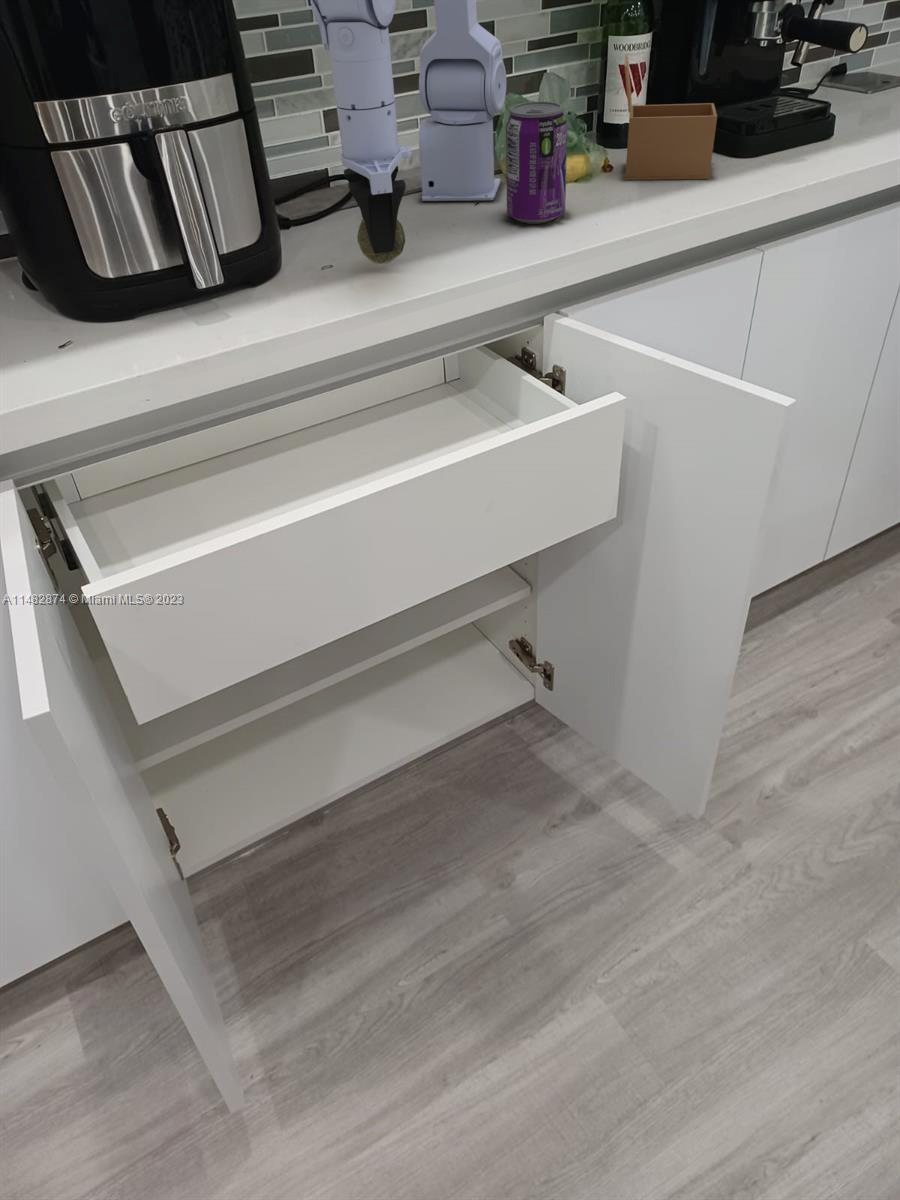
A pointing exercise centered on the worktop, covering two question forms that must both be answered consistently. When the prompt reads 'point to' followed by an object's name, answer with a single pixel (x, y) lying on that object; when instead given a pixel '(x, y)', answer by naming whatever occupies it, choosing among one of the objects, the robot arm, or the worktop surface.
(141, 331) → the worktop surface
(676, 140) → the carton
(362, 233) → the lime
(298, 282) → the worktop surface
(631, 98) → the flap
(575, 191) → the worktop surface
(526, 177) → the beverage can
